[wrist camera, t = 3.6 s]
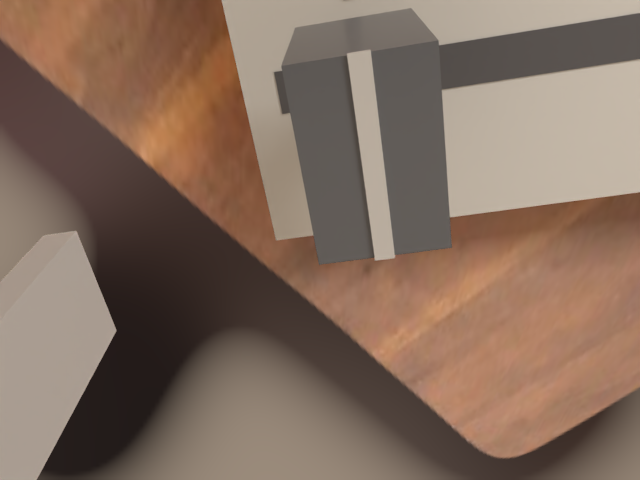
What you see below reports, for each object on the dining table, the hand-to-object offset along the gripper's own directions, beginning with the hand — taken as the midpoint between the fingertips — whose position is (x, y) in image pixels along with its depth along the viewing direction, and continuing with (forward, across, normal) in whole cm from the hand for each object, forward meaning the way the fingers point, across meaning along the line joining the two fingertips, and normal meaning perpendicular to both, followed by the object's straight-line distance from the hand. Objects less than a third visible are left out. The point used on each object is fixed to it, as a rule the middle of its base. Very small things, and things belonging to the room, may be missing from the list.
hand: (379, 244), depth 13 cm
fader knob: (+13, 0, 0) cm, 13 cm away
